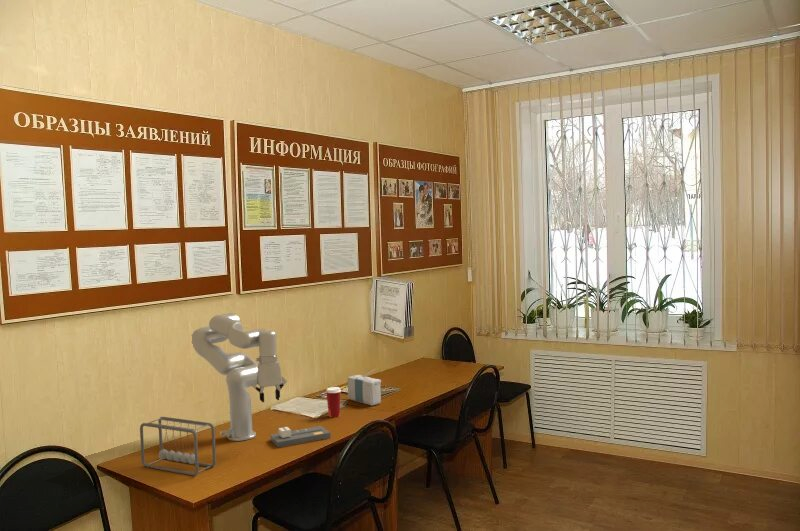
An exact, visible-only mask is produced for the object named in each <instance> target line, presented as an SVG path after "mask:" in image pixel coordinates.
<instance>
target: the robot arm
mask: <svg viewBox="0 0 800 531" xmlns="http://www.w3.org/2000/svg"><path fill="white" fill-rule="evenodd" d="M243 330H244V327H243V324H242V323H241V319H240V316H239V315H237V314H235V313H223V314H218V315H214V316H212V317H211V319H209V322H208V326H203V327H199V328H197V329H195V330H193V332H192V333H193V334H191V336H192V341H191V345H192V344H193V345H192V347H193V350H194V351H195V352H196V353H197V354H198V355H199V356H200V358H201V357H202V358H203V359H204V360H205V361H207V362H208V363H209V364H210V365H211V366H212V367H213V369H215V370H216V372H218V373H219V374H220V375H223V376H226V378H225V382H226V386H227V391H228V400H229V401H228V402H229V418H230V419H229V420H230V427H228V429H226V430H219V434H220V436H224V437H227V440H229V441H233V442H243V441H249V440H251V439H253V438H255V437H256V436H257V432H256V431H255V430H253V414H252V413H253V412H252V411H253V410H252V397H251V394H250V392H249V391H248V389H247V388H250V387H252V388H253V389H255V390H256V391H257V392H258V393H259V400H260V401H261V402H262V403H265V392H264V389H265V388H268V387H275V390H274V393H275V400H277V401H279V400H280V398H281V390H282V388H283V387H284V386H285V385H286V383H287V382H288V380H287V379H285V378H284V377H283V376H282V368H281V364H280V361H278V350H277V349H278V346H277V333H276V332H275V331H274V330H266V329H263V328H257V329H251V330H245V331H243ZM227 340H228V341H229V343H230V345H231V346H234V347H235V348H239V349H243V350H246V349H247V350H248V349H251V348H257V347H258V352H259V353H258V354H259V356H258V357H256V358H255V360H254V359H252V357H250V355H248V354H246V353H245V352H243V351H242V352H241V351H240V352H237V351H236V352H232V353H227V352H226V351H225V350H224V349H223V348H222V347H221V346H218V345H216V344H218V343H224V342H225V341H227ZM257 362H258V363H257Z"/></svg>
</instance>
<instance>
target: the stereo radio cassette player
mask: <svg viewBox="0 0 800 531" xmlns="http://www.w3.org/2000/svg"><path fill="white" fill-rule="evenodd" d="M378 368H379V367H378V366H377V367H376V368H374V369H372V370H370V371H369V372H367V373H366V374H364V375H362V374H355V375H351V376H348V377H347V396H348V399H350V400H351V401H353V402H354V401H355V402H358V403H361V404H365V405H368V406H371V407H373V406H375V405H380V404H381V403H382V395H381V383H382V380H381V379H378V378H373V377H369V376H367V375H368V374H370V373H372V372H373V371H375V370H376V369H378Z"/></svg>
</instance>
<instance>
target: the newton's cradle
mask: <svg viewBox="0 0 800 531" xmlns="http://www.w3.org/2000/svg"><path fill="white" fill-rule="evenodd" d="M157 421H158V422H157ZM162 421H164V423H165V422H166V423H168V422H170V423H168V424H162ZM155 422H157V423H155ZM174 423H177V424H175V425H169V424H174ZM179 424H180V426H176V425H179ZM181 424H185V426H187V427H183V425H181ZM189 425H191V426H190V427H189ZM194 426H195V427H194ZM196 426H199V427H198V428H197V427H196ZM207 426H208V427H210V428H211V446H212V447H211V449H212V463H211V464H210V463H207V462H206V463H205V462H200V461H199V451H198V450H199V449H198V434H197V431H198V430H201V429H202V428H205V427H207ZM144 427H148V428H149V427H150V428H156V429H158V440H159V452H158V457H159V459H158V460H155V461H152V462H150V463H146V461H145V446H144V445H145V442H144ZM192 427H194V428H192ZM163 429H164V430H165V438H164V440H166V439H167V440H169V438H168V436H167V435H168V433H167V430H169V431H172V436H175V433H174V432H176V431H177V432H179V436H182V434H181V432H184V433H186V434H187V435H186V438H187V441H190V439H189V433H191V434H192V436H193V447H192V448H191V447H189V449H190V451H192V452H190V454H189V452H181V451H180V450H178V447H177V443H176V442H174V443H175V444H174V445H175V448H176V450H177V451H176V452H175V451H174V450H173V448H170V443H169V441H167V443H168V448H169V450H167V449H165V445H166V443H164V446H163V432H162V431H163ZM215 434H216V432H215V426H214V424H213V423H212V422H205V421H198V420H197V421H196V420H190V419H183V418H175V417H170V416H169V417H168V416H160V417H159V418H158V419H154V420H152V421H149V422H142V423H141V424H140V426H139V438H140V456H141V458H140V460H141V464H142V466H143V467H145V466H146V467H145V468H149V467H151V468H150V469H154V468H155V470H159V469H160V470H161V471H166V472H170V473H177V474H182V475H187V476H191V477H192V476H193V477H195V476H197V475H198V474H199V473H201V472H202V471H205V470H207V469H209V468H214V467H215V466H216V464H217V459H216V458H217V456H216V453H217V452H216V438H215V436H216V435H215ZM182 438H183V437H180V439H179V444H178V446H180V443H182V446H184V444H183V442H181V441H183V439H182ZM173 440H174V441H176V439H175V437H173V438H172V442H171V444H173ZM180 440H181V441H180ZM188 444H189V446H191V443H190V442H186V445H185V448H187V445H188ZM185 448H184V447H182V450H183V451H185ZM191 449H192V450H191ZM193 452H194V453H193ZM166 459H167V460H166ZM162 460H166V461H171V462H172V461H173V462H177V463H178V462H179V463H184V464H190V465H194V467H195V471H194V472H191V471H187V470H180V469H174V468H172V467H171V468H169V467H166V466H165V467H164V466H159V465H154V463H156V462H159V461H162ZM199 466H200V467H205V468H203V469H201V470H199Z"/></svg>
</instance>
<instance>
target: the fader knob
mask: <svg viewBox="0 0 800 531" xmlns="http://www.w3.org/2000/svg"><path fill="white" fill-rule="evenodd" d="M291 431H292V429H290V428H289V426H283V427H278V433H279V436H281V437H282V438H285V437H291Z"/></svg>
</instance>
